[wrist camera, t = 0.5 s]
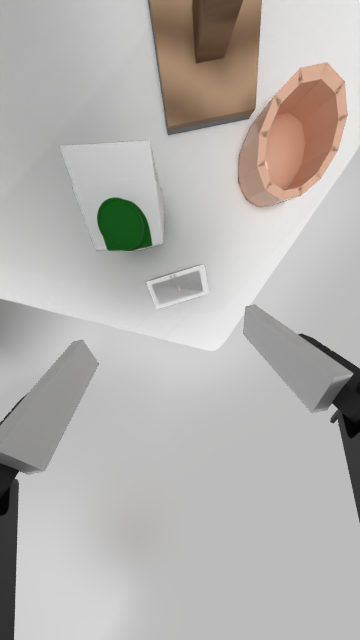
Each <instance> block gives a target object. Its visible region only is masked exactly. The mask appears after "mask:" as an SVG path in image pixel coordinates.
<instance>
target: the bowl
mask: <svg viewBox="0 0 360 640" xmlns="http://www.w3.org/2000/svg"><path fill="white" fill-rule="evenodd" d="M346 119H347V103H346V92H345V81H344V80H343V79H342V78H341V77H340V76H339V75H338V74H337V73H336V72H335V70H334V69H333V68H332V67H331V66H330V65H329V64H328V63H322V64H317V65H312V66H307V67H302V68H300V69H299V70H298V71H297V72H296V73H295V74H294V75H293V76H292V77H291V79H290V80H289V81H288V82H287V83H286V84H285V85H284V86H283V87H282V88H281V89H280V90H279V92H278V93H277V94H276V95H275V96H274V97H273V98H272V100H271V101H270V102H269V104H268V105H267V106H266V107H265V109H264V110H263V111H262V113H261V114H260V115H259V117H258V118H257V119H256V120H255V122H254V123H253V124H252V126H251V127H250V130H249V132H248V135H247V136H246V139H245V141H244V143H243V146H242V149H241V153H240V158H239V165H238V177H239V183H240V187H241V190H242V192H243V194H244V196H245V197H246V199H247V200H248V201H249V202H250V203H252V204H254V205H256V206H259V207H263V206H269V205H273V204H278V203H281V202H284V201H287V200H290V199H293V198H296V197H299V196H301V195H302V194H303V193H305V192H306V191H307V190H308V189H309V188H310V187H312V186H313V185H314V184H315V183H316V182H317V181H319V180H320V179H321V178H322V176H323V174H324V173H325V171H326V169H327V168H328V166H329V164H330V163H331V161H332V159H333V158H334V156H335V154H336V153H337V151H338V148H339V145H340V141H341V137H342V134H343V130H344V126H345V122H346Z"/></svg>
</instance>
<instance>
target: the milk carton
mask: <svg viewBox="0 0 360 640" xmlns="http://www.w3.org/2000/svg"><path fill="white" fill-rule="evenodd" d="M60 150H61V153H62V156H63V158H64V161H65V164H66V167H67V170H68V173H69V175H70V178H71V181H72V184H73V187H72V188H73V191H74V194H75V197H76V200H77V202H78V204H79V207H80V209H81V212H82V215H83V218H84V220H85V223H86V226H87V229H88V231H89V234H90V237H91V239H92V242H93V245H94V248H95V250H97V251H132V250H142V249H146V248H150V247H153V246H157V245H160V244H163V236H164V204H163V194H162V189H161V187H160V185H159V182H158V178H157V173H156V169H155V164H154V159H153V154H152V149H151V144H150V140H145V141H129V142H113V143H97V144H81V145H65V146H60Z"/></svg>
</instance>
